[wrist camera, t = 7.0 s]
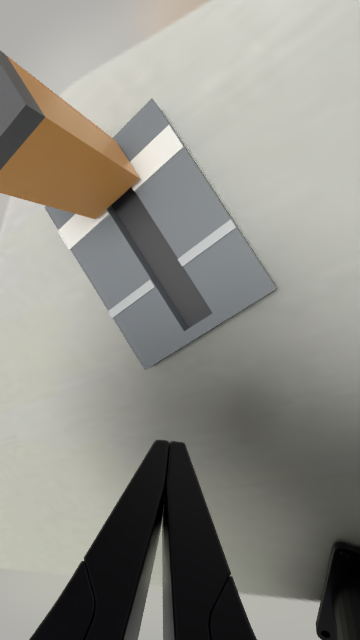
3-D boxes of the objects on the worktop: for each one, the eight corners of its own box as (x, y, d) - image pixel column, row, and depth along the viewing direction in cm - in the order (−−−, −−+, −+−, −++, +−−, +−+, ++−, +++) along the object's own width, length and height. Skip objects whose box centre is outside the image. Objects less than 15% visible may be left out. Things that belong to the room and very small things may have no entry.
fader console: (277, 287, 17) (276, 289, 15) (152, 364, 20) (143, 370, 19) (160, 109, 17) (150, 96, 16) (57, 211, 20) (42, 207, 19)
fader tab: (149, 184, 18) (26, 104, 9) (107, 222, 19) (-37, 182, 10) (127, 149, 18) (-16, 38, 9) (86, 189, 19) (-73, 122, 11)
